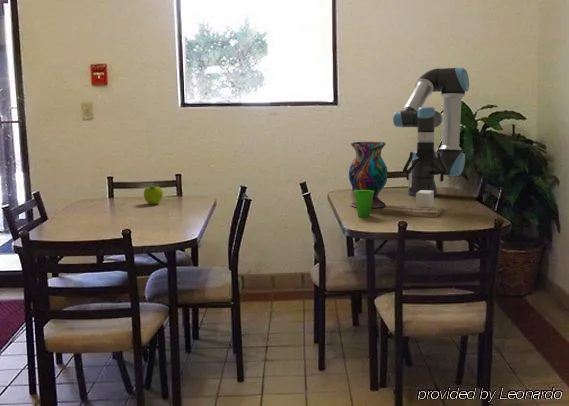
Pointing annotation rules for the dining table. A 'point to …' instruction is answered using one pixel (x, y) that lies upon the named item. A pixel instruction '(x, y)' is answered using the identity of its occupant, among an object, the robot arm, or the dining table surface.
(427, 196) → the white cube
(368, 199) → the cup
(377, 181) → the vase
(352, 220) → the dining table surface
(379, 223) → the dining table surface
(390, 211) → the board
